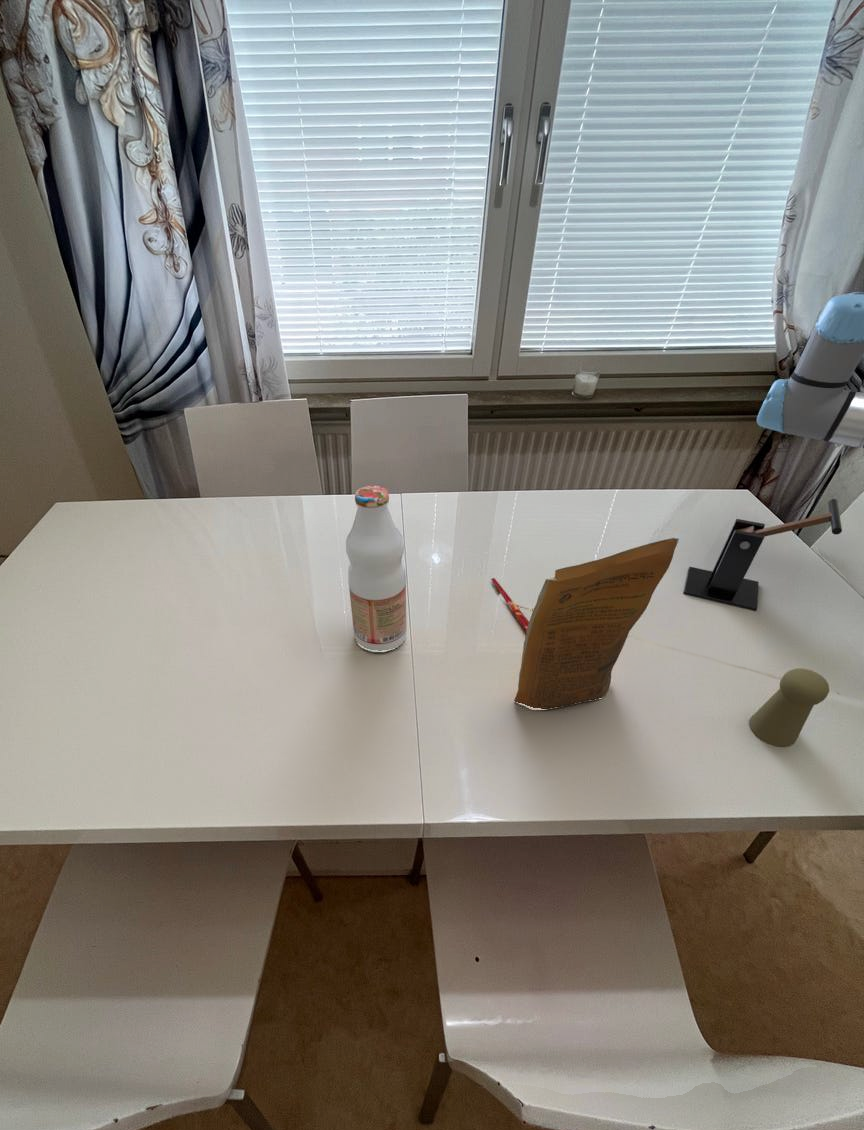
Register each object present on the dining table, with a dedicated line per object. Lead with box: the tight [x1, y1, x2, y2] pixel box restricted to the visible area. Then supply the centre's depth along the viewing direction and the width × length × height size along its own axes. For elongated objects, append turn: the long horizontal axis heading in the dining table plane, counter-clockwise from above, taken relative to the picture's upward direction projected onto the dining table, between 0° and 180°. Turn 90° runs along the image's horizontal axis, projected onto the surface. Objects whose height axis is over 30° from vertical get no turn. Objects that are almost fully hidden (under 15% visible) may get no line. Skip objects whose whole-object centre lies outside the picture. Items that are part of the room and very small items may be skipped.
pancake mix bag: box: [513, 537, 680, 709], centre depth 74 cm, size 7×19×28 cm, turn 102°
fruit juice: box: [345, 485, 408, 651], centre depth 86 cm, size 9×9×28 cm
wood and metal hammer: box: [739, 498, 843, 538], centre depth 89 cm, size 14×10×2 cm
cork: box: [748, 667, 830, 748], centre depth 73 cm, size 6×6×11 cm
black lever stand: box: [683, 518, 766, 612], centre depth 96 cm, size 12×9×14 cm
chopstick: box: [490, 577, 530, 633], centre depth 97 cm, size 2×24×1 cm, turn 16°
